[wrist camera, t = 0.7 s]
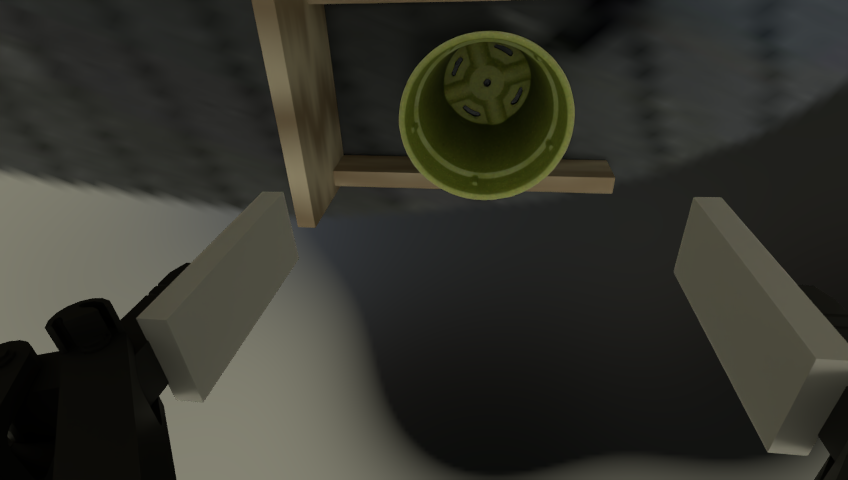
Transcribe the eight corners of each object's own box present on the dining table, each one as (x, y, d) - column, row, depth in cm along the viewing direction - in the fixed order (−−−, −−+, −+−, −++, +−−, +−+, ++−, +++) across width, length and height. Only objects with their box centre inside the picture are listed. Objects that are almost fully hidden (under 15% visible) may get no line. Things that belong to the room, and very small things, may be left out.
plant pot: (515, 165, 36) (520, 224, 28) (400, 115, 35) (376, 162, 27) (583, 45, 31) (611, 79, 23) (451, -19, 30) (438, -3, 22)
